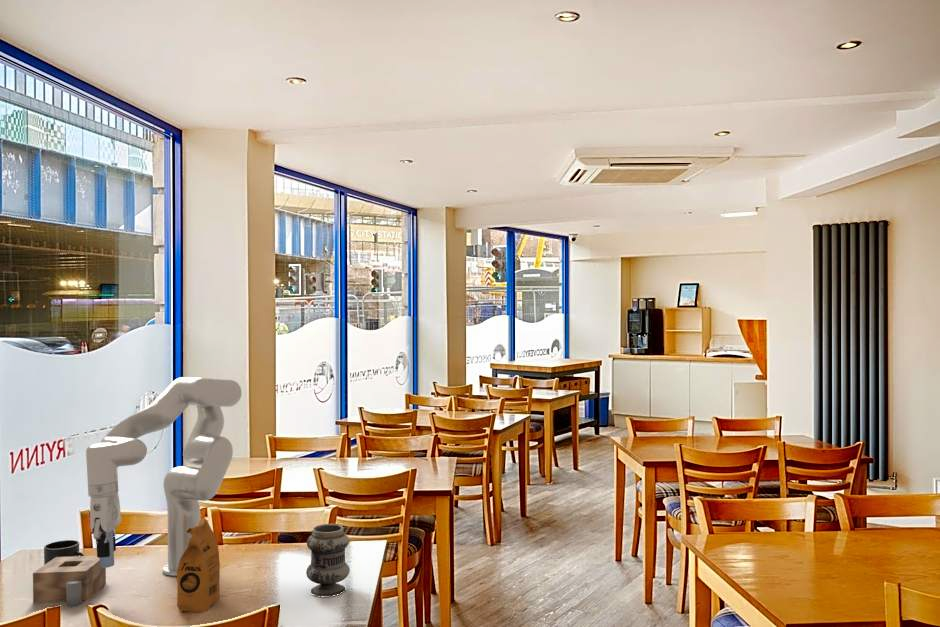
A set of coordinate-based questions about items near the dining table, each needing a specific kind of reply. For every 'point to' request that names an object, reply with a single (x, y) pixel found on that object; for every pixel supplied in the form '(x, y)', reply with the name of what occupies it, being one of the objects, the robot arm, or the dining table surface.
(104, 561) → the tall pin
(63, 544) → the mug
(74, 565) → the hole block
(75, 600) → the short pin
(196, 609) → the coffee package
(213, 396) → the robot arm
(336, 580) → the apothecary jar
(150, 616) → the dining table surface
